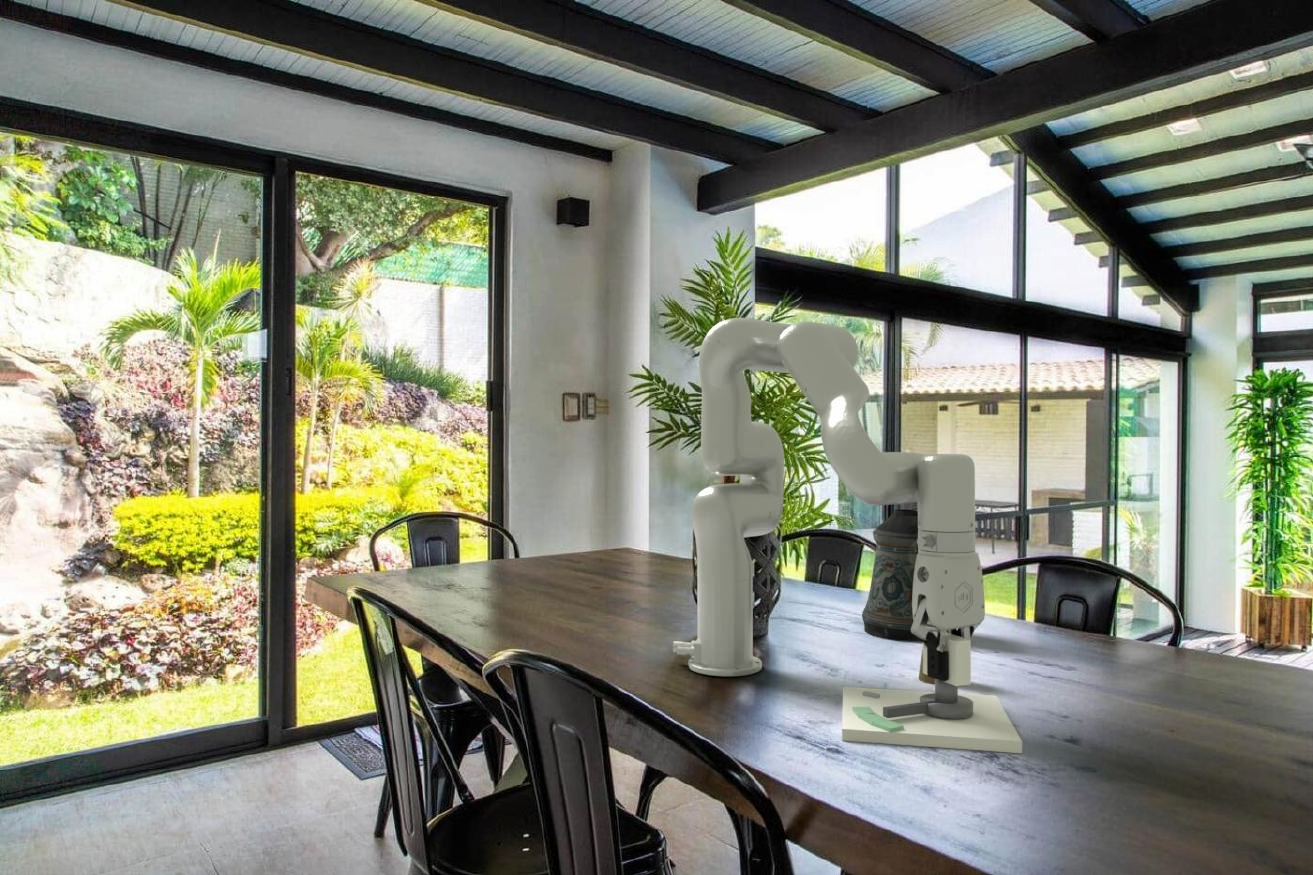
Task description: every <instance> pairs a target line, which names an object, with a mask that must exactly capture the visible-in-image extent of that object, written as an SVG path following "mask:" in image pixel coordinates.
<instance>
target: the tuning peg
mask: <svg viewBox="0 0 1313 875" xmlns="http://www.w3.org/2000/svg"><path fill="white" fill-rule="evenodd" d="M933 633H934V635H935V636H936V637H937V632H936V631H933ZM971 641H972V640H971V639H970V640H969V639H966V638H963V637H959V636H956V635H953V634H950V633H947V632H946V647H945V650H944V651H948V654H949V679H948V680H947V681H942V680H938V679H935V684H934V692H935V693H931V694H925V695H923V696H921V697H920V703H912V704H904V705H896V706H888V707H883V716H884V717H886V718H894V717H901V716H909V715H916V714H924V713H926V714H928V715H931V716H935V717H941V718H950V719H959V718H967V717H970V716H972V715H973V701H972V700H970V699H968V698H966V697H963V696H959V695H958V694H959V692H958V691H959V689H958V688H959V687H960V686H961V687H962V686H970V685H971V683H972V682H971V680H972V679H971V678H972V677H971V676H972V674H971V673H972V671H971V670H972V669H971V668H972V667H971V664H972V662H971V661H972V660H971V659H972V658H971V657H972V656H971V655H972V654H971V652H972V651H971V647H972V646H971V644H972V643H971ZM922 649H923V673H924V674H926V675H927V648H925V647H924V643H923V642H922Z"/></svg>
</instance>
